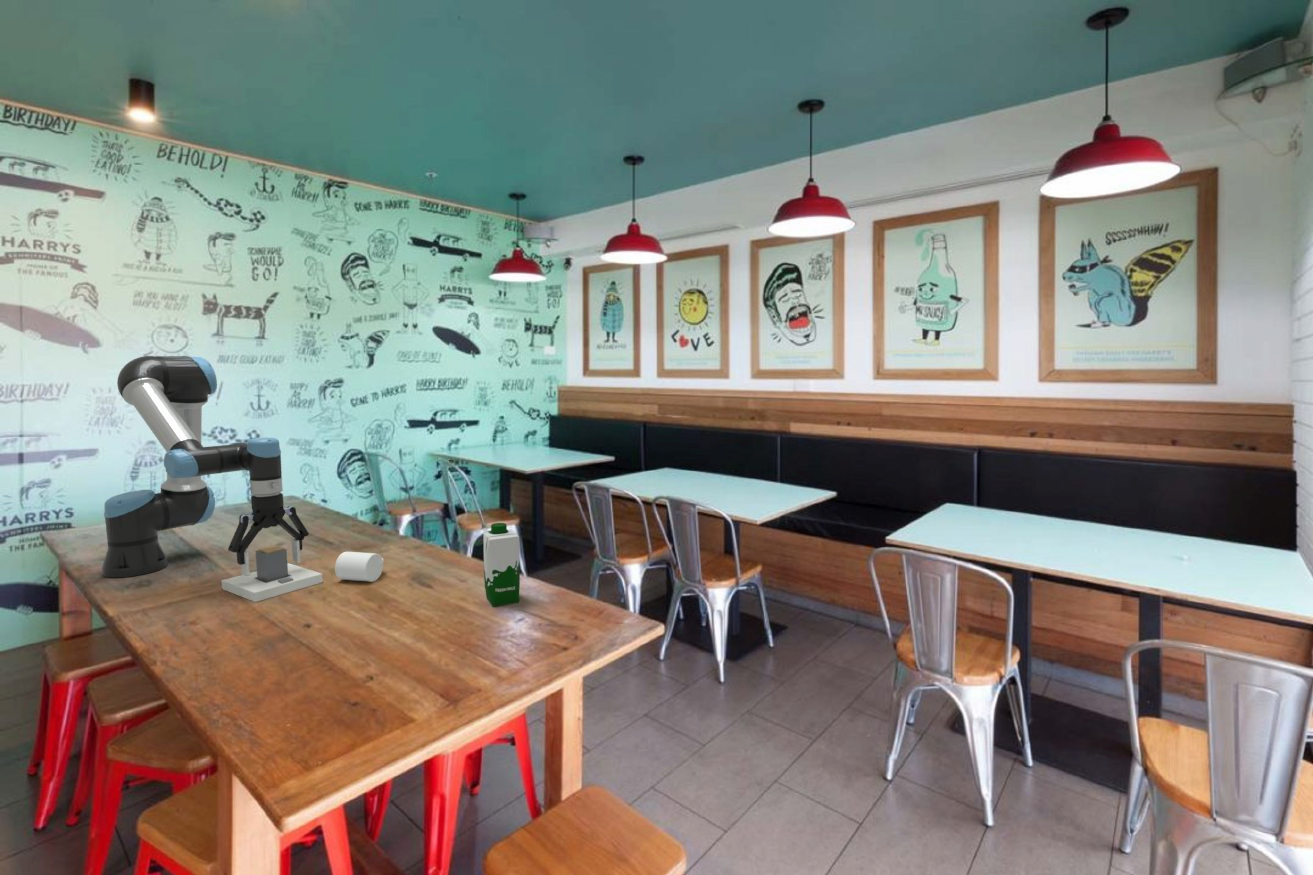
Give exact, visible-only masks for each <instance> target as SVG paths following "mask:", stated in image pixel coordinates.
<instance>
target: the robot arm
mask: <svg viewBox="0 0 1313 875" xmlns="http://www.w3.org/2000/svg"><path fill="white" fill-rule="evenodd" d="M217 386H218V380H217V375H216V372H215V369H214V367H213V366H212V364H211V363H210V362H209V361H208V360H207V359H205V358H203V357H199V356H190V355H187V356H185V355H183V356H182V355H175V356H174V355H172V356H169V355H159V356H154V355H144V356H139V357H137V358H134V359H132V360H130V361H129V362H127V363H126V364H125V365H124V366H123V367H122V368H121V370H120V371H119V373H118V376H117V390H118V393H119V395H120V396H121V397H122V399H123V400H124V401H125V402H126V403H127V404H129V405H131V406H133V407H134V408H135V409H136V411H137V412H138V414H139V415H140V417H141V418H142V420H143V421H144V422H145V424H146V425H147V426H148V428H149V429H150V430H151V433H152V434H153V435H154V436H155V438H156V440H157V441H158V442H159V443H160V445H161V446H162V448H163V449H164V450H165V452H166V453H165V454H164V457H163V466H164V468H165V472H166V480H165V481H164V482H163V483H161V484H160V492H157V493H155V492H154V490H152V489H141V490H140V489H139V490H131V491H127V492H123V493H119V494H117V495H113V496H111V497H109V498H108V499H107V500H106V501H105V502H104V514H103V518H104V521H105V530H106V532H105V533H106V540H107V542H106V543H107V550H106V553H105V554H106V555H105V557H104V560H103V564H102V567H101V572H102V576H103V577H106V578H127V577H129V578H130V577H135V576H142V575H146V574H151V573H154V572H157V571H160V570H163V569H164V568H166V567H167V566H168V557H167V555H166V553H165V552H164V549H163V548H162V546H161V544H160V542H159V535H158V532H160V531H166V530H171V529H176V528H182V527H188V526H190V527H191V526H195V525H198V524H202V523H204V522H207V521H208V520H209V519H211V517H212V516H213V514H214V511H215V508H216V498H215V497H214V495H215V493H214V491H213V489H212V488H210V487H209V486H208V485H207V482H206V481H204V480H203V479H202V476H208V475H215V474H223V473H231V472H232V473H233V472H240V471H246V472H247V471H249V473H248V474H249V485H250V494H251V495H252V496H251V497H250V499H251V500H250V503H251V510H252V513H251V514H249V515H247V514H246V515H245V514H240V516H239V519H238V520H239V522H238V524H237V525H238V526H237V528H236V530H235V532H234V534H233V536H232V539H231V541H230V544H229V545H228V548H227V550H228V551H229V552H232V553H236V562H237V564H238V565H240V569H241V575H244V576H250V573H251V572H250V561H249V559H250V558H249V552H248V551H247V549H248V547H249V546H250V545H251V543H252V542H253V540H254V539H255V538H256V536H257V535H258V534H259V532H261V531H262V530H263V529H270V527H278V526H280V527H281V528H282V529H283V530H285V532H287V533H288V534H289V535H290V536H291V537H292V538H293V539H291V540H290V541H291V552H292V553H291V555H292V562H294V563H296V564H300V563H301V551H302V550H303V541H304V539H305V537H308V536H309V531H308V529H307V528H306V526H305V525H304V524H303V522H302V521H301V518H300V517H299V515H298V514H297V510H296V507H295V506H290V505H288V506H287V507H286V508H284V505H285V504H284V494H283V493H282V492H283V478H282V458H281V457H282V456H281V454H282V451H281V448H280V441H279V439H277V438H276V437H256V438H255V437H254V438H251V439H248V441H247V442H244V441H240V442H232V443H229V444H223V445H212V446H203V444H202V422H203V421H202V414H203V413H202V412H203V410H202V407H203V405H205V404H207V403H208V401H209V399H208V398H209V396H210V395H212V394H215V392H216V390H217V388H218V387H217ZM285 515H287V516H288V517H289V519H290V520H291V523H293V525H294V527H295V528H294V527H293V526H292V525H290V524H289V523H288V522H287V521H286V520H285V519H284V517H285ZM251 521H253V523H252V524H251V526H250V529H249V530H248V532H247V533H246V531H247V529H248V526H249V524H250V523H251ZM245 533H246V534H245Z"/></svg>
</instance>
